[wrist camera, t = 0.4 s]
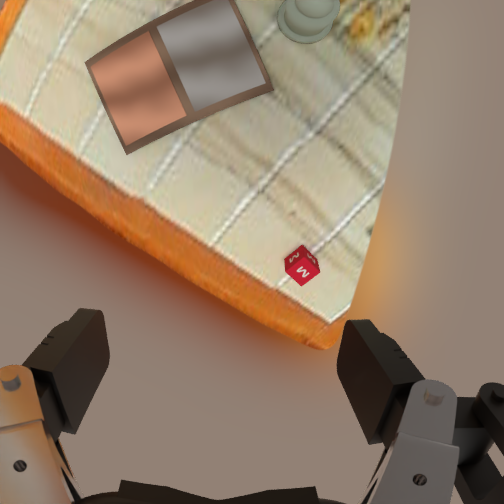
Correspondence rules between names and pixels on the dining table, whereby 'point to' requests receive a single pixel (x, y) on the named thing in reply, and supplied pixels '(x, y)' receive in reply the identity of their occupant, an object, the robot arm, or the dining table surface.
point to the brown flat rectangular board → (177, 71)
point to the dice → (301, 265)
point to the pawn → (307, 19)
